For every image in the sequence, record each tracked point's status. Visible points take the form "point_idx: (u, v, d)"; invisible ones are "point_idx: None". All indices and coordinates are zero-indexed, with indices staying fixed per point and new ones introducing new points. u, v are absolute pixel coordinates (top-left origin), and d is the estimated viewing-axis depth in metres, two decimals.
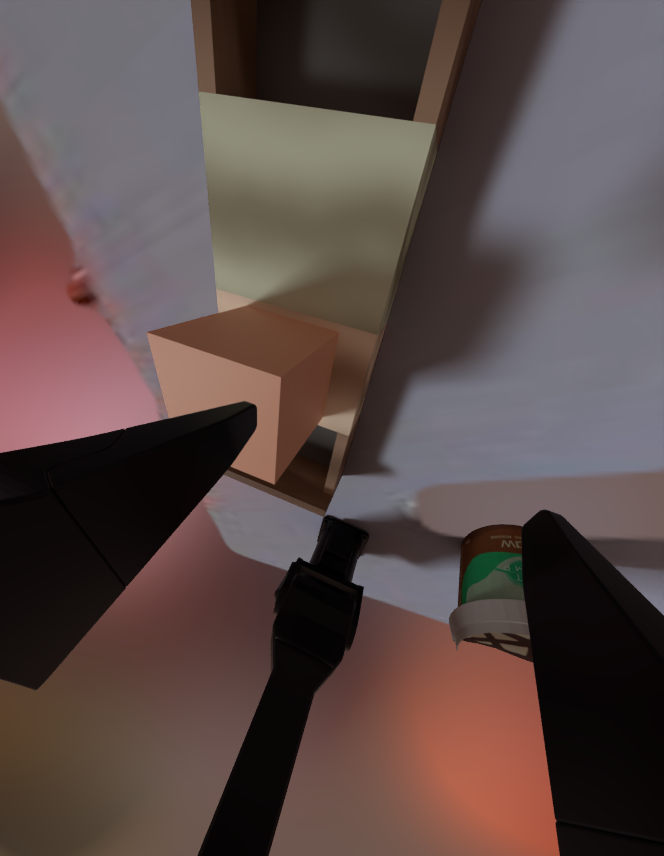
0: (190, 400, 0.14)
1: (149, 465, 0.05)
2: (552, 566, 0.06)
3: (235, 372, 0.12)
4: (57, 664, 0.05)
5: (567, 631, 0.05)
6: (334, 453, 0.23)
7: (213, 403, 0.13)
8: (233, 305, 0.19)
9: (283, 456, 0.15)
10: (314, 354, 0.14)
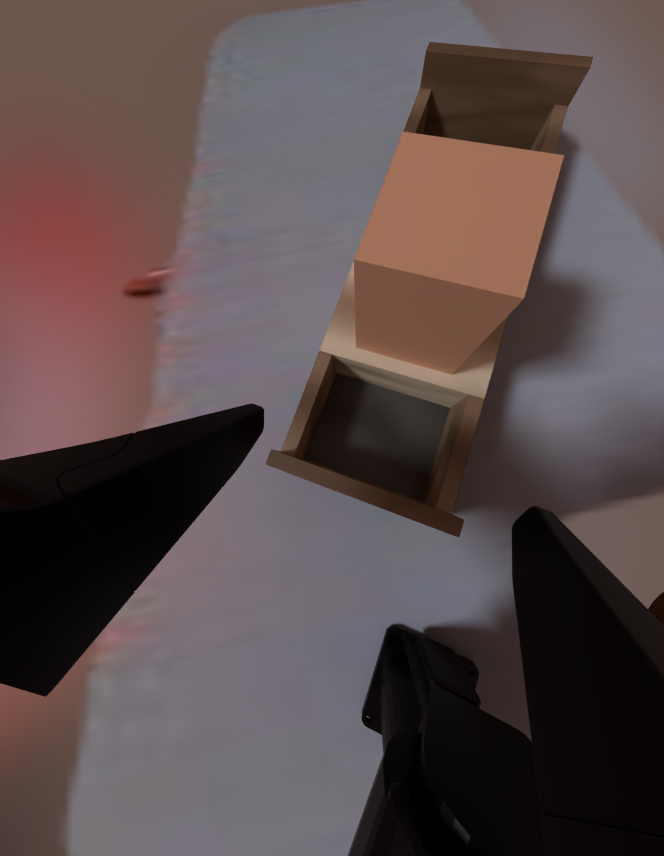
0: (423, 193, 0.11)
1: (159, 469, 0.05)
2: (541, 561, 0.06)
3: (506, 156, 0.11)
4: (66, 670, 0.05)
5: (554, 625, 0.05)
6: (462, 428, 0.17)
7: (459, 191, 0.11)
8: None
9: None
10: None
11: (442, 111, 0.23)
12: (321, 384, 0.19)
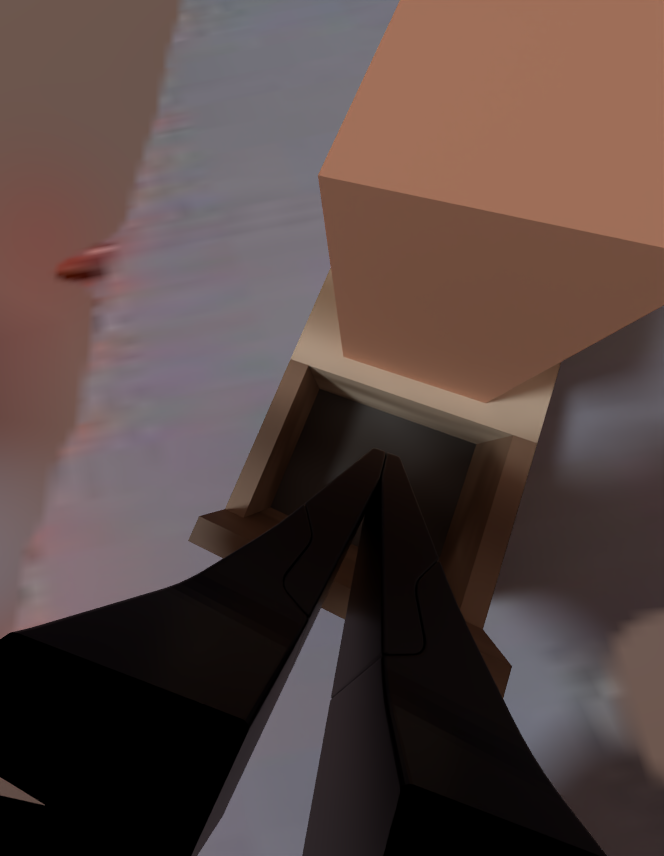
0: (475, 38, 0.05)
1: (344, 551, 0.05)
2: (374, 496, 0.07)
3: None
4: None
5: (365, 544, 0.06)
6: (501, 488, 0.11)
7: (558, 30, 0.05)
8: None
9: None
10: None
11: None
12: (291, 409, 0.13)
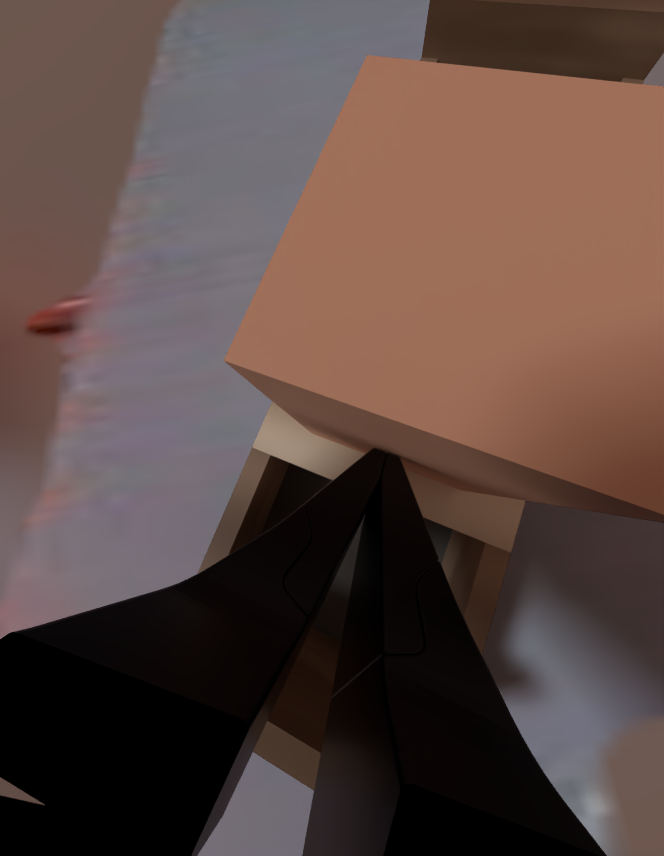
0: (406, 195, 0.05)
1: (344, 551, 0.05)
2: (374, 496, 0.07)
3: (621, 105, 0.04)
4: None
5: (365, 544, 0.06)
6: (472, 603, 0.10)
7: (499, 193, 0.04)
8: None
9: None
10: None
11: None
12: (252, 502, 0.12)
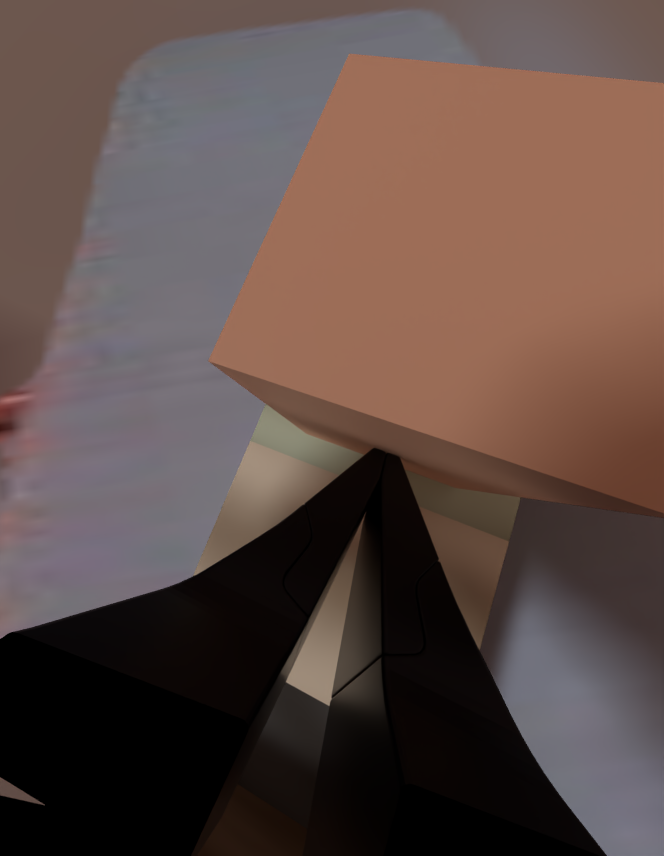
0: (389, 193, 0.05)
1: (344, 551, 0.05)
2: (374, 496, 0.07)
3: (601, 99, 0.04)
4: None
5: (365, 544, 0.06)
6: None
7: (481, 189, 0.04)
8: (269, 466, 0.12)
9: None
10: None
11: None
12: None
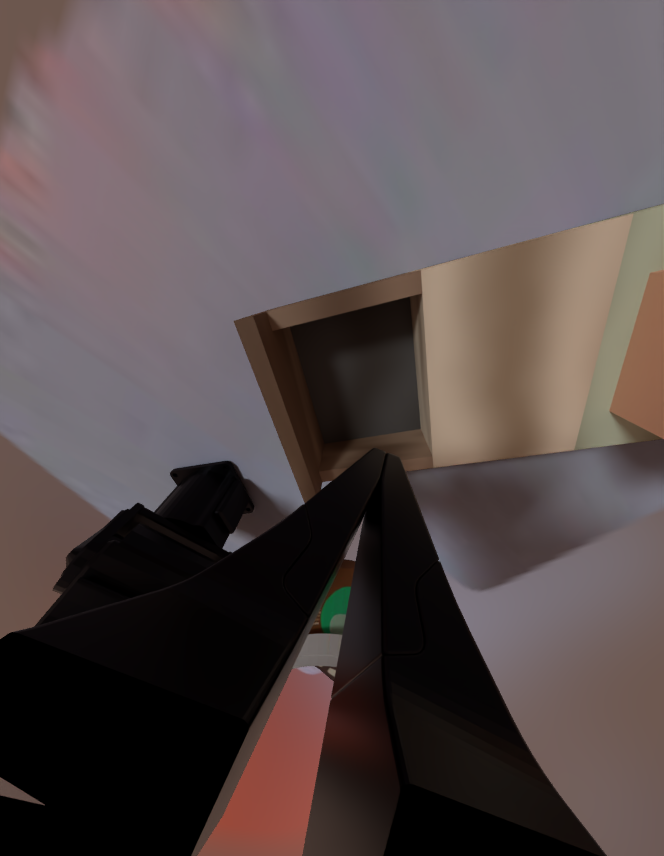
0: None
1: (344, 551, 0.05)
2: (374, 496, 0.07)
3: None
4: None
5: (365, 544, 0.06)
6: None
7: None
8: (603, 256, 0.11)
9: None
10: None
11: None
12: (373, 305, 0.13)
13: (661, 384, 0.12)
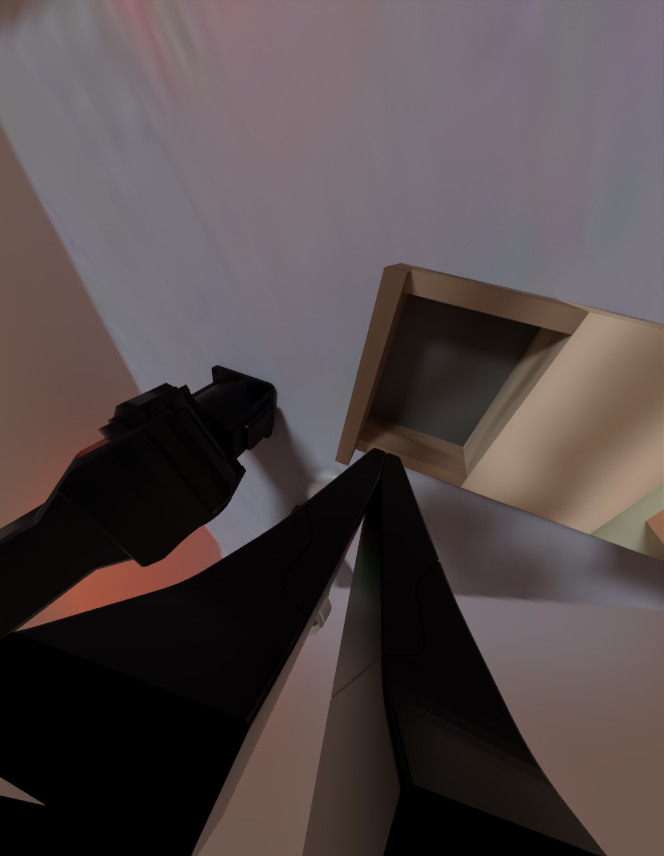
0: None
1: (344, 551, 0.05)
2: (374, 496, 0.07)
3: None
4: None
5: (365, 544, 0.06)
6: (431, 467, 0.18)
7: None
8: None
9: None
10: None
11: None
12: (517, 320, 0.12)
13: None
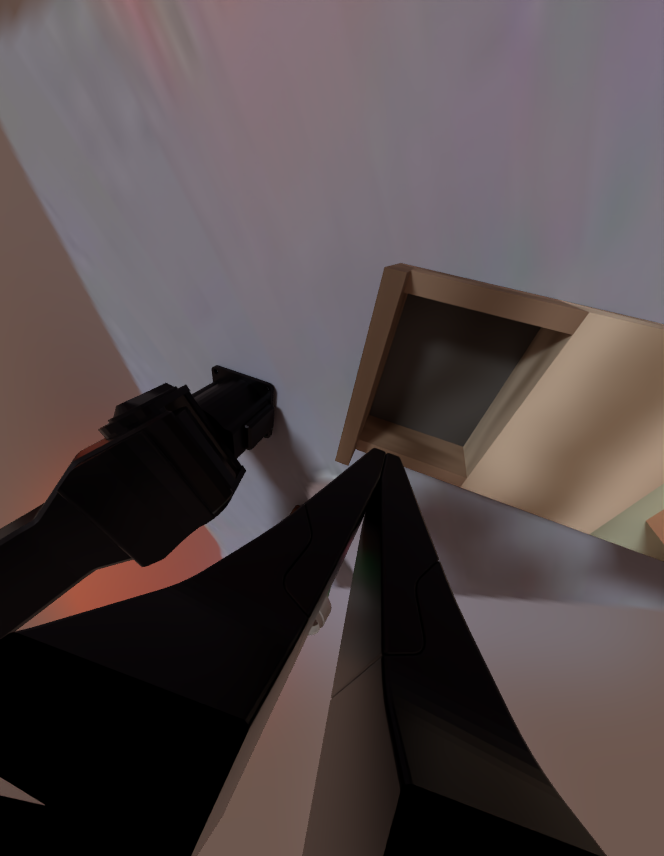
0: None
1: (344, 551, 0.05)
2: (374, 496, 0.07)
3: None
4: None
5: (365, 544, 0.06)
6: (431, 467, 0.18)
7: None
8: None
9: None
10: None
11: None
12: (517, 320, 0.12)
13: None
